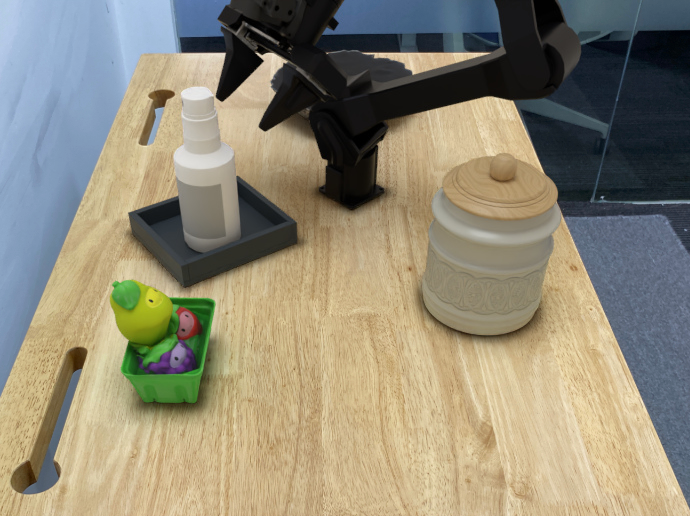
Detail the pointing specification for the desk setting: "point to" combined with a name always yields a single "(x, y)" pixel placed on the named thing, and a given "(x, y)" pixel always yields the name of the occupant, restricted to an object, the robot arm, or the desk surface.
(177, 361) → the fruit basket
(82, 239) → the desk surface
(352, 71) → the bowl
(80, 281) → the desk surface
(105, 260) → the desk surface
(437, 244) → the jar
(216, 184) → the spray bottle
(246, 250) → the tray
